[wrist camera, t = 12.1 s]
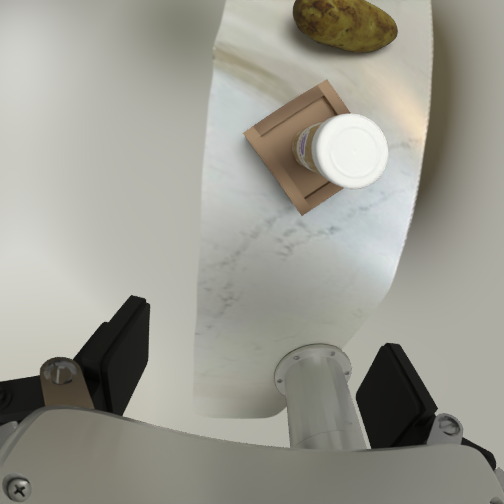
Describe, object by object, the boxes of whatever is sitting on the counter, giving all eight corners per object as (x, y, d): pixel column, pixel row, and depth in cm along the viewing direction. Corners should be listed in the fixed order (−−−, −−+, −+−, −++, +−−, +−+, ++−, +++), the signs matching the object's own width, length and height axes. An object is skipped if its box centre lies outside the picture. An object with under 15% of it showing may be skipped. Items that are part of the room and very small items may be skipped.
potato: (380, 77, 30) (408, 64, 23) (282, 42, 29) (289, 17, 22) (390, 28, 27) (417, 8, 20) (298, -6, 26) (306, -37, 19)
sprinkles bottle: (288, 127, 28) (312, 113, 15) (333, 125, 27) (387, 112, 15) (293, 172, 29) (320, 193, 16) (337, 169, 29) (392, 188, 16)
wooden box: (359, 159, 34) (380, 163, 27) (293, 202, 36) (301, 216, 30) (314, 91, 31) (326, 79, 25) (245, 135, 33) (242, 133, 27)
